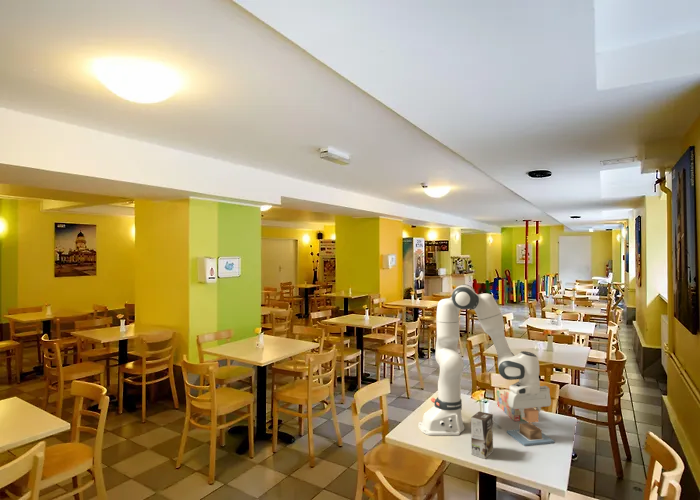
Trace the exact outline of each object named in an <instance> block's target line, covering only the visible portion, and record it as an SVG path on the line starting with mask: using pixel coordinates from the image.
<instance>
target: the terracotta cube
mask: <svg viewBox="0 0 700 500" xmlns="http://www.w3.org/2000/svg"><path fill="white" fill-rule="evenodd" d="M523 412H524V413H526V418H523V417H522V419H524V420H525V421H524V422H526V423H532V424H533V423H538V422H539V416H538V411H537V410H536V408H524V411H523Z"/></svg>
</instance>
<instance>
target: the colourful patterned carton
mask: <svg viewBox="0 0 700 500" xmlns="http://www.w3.org/2000/svg"><path fill="white" fill-rule="evenodd" d="M510 391H511V390H510V389H496V402H497V404H496V406H497V405H498V406H497V407H498V408H499V409H500V410H501V409H502V410H503V411H502V412H503V413H505V414H506V415H507V416H508V417H509V418H510V419H511V420H512V421H513V422H526V421H525V420H524V419H522V416H521V412H520V410H519V409H512V408H511V407H510V406H509V405H508V397H509V392H510Z"/></svg>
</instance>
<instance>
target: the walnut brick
mask: <svg viewBox="0 0 700 500" xmlns="http://www.w3.org/2000/svg"><path fill="white" fill-rule="evenodd" d="M519 429H520V433H521V434H523V435H524V436H525V437H527V438H528V439H530V440H534V439H542V433H543V432H542V429H541V428H540V427H538V426H537V425H535V424H533V422H532V423H528V422H526V423H519Z"/></svg>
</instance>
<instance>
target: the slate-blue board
mask: <svg viewBox="0 0 700 500" xmlns="http://www.w3.org/2000/svg"><path fill="white" fill-rule="evenodd" d="M506 433H507V434H508V435H509V436H510V437H512V438H513V439H515V440H516V441H517V442H518V443H519V444H522V446H524V447H529V446H538V445H539V446H540V445H549V444H555V440H554V439H552V438H550V437H549V436H548V435H546V434H545V433H543V432H542V439H534V440H530V439H528V438H527V437H525V436H524V435H523V434H521V433H520V429H517V428H516V429H510V430H509V429H508V430H506Z"/></svg>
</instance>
